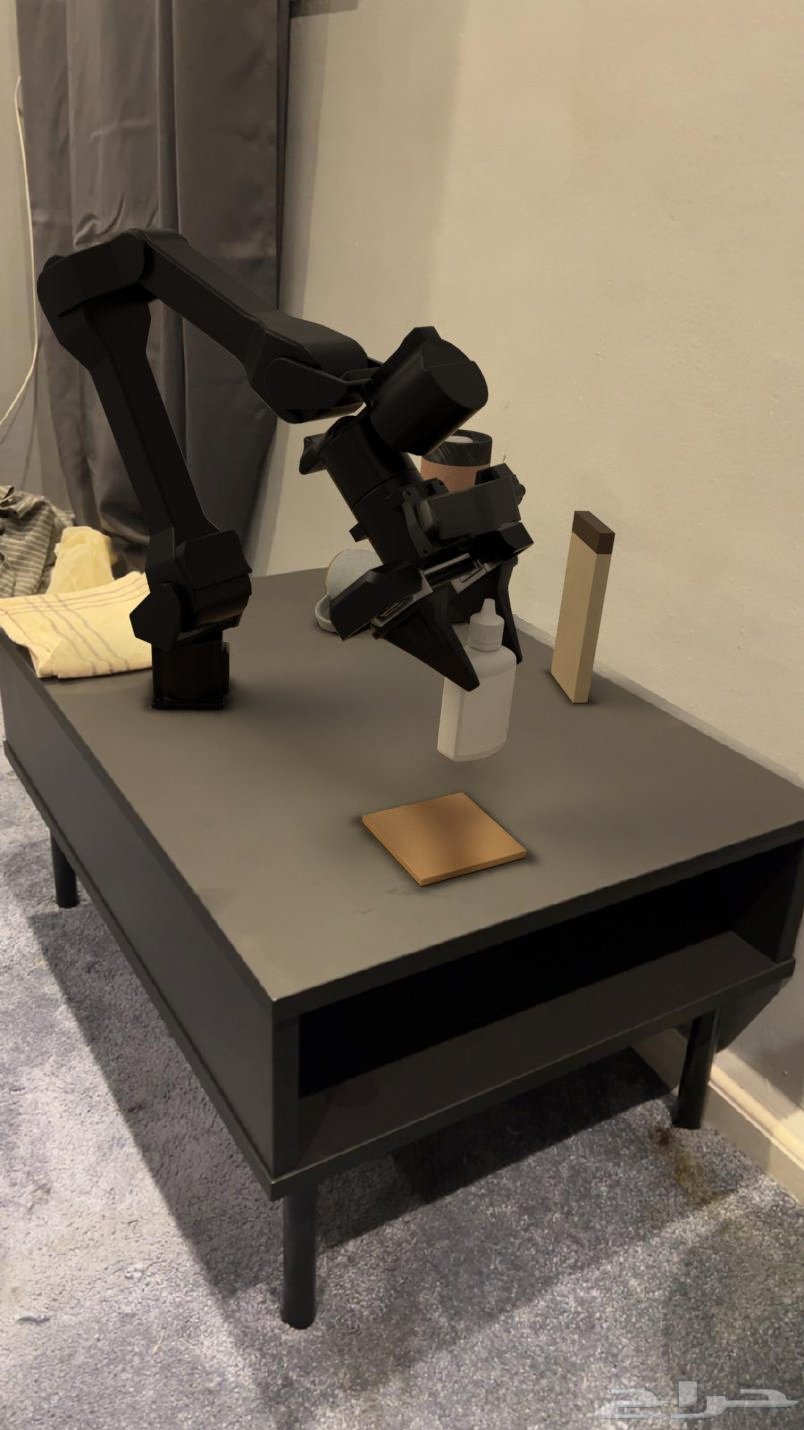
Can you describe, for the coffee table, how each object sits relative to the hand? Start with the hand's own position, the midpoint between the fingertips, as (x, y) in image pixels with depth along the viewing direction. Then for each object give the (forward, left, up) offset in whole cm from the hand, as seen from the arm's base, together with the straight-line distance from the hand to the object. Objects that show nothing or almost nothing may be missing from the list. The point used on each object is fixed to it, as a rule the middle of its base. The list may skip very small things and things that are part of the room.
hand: (496, 676), depth 76 cm
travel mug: (+4, +44, -13) cm, 46 cm away
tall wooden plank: (+14, +24, -12) cm, 31 cm away
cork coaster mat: (-3, -2, -12) cm, 13 cm away
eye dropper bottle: (-1, +1, -7) cm, 7 cm away
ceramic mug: (-6, +41, -13) cm, 43 cm away
